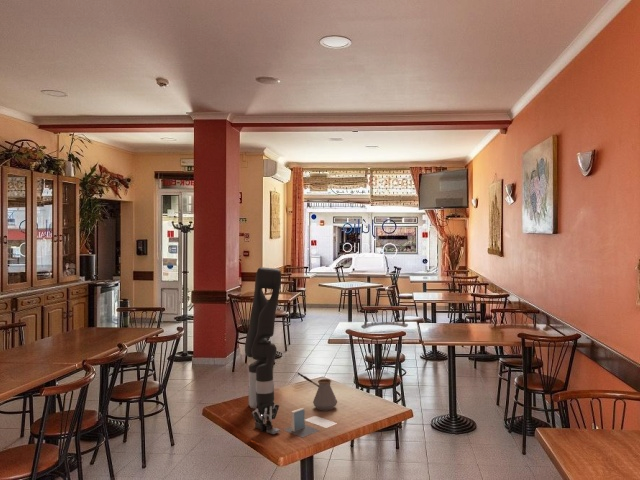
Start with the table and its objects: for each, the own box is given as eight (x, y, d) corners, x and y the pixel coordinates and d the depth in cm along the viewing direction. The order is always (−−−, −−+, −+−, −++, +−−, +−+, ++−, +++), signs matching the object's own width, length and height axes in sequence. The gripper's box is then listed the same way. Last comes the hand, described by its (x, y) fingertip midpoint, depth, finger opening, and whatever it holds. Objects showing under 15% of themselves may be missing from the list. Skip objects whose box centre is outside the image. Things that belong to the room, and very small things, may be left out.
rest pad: (303, 421, 228) (303, 420, 228) (315, 417, 233) (315, 415, 233) (326, 429, 218) (326, 428, 218) (337, 424, 223) (337, 423, 223)
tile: (291, 430, 216) (291, 411, 216) (302, 426, 220) (301, 407, 220) (294, 431, 215) (294, 412, 215) (305, 427, 219) (304, 408, 219)
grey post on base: (253, 429, 220) (253, 422, 220) (261, 427, 223) (260, 420, 223) (272, 436, 211) (272, 429, 211) (280, 434, 213) (280, 426, 213)
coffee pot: (341, 406, 247) (340, 374, 246) (329, 413, 237) (328, 381, 236) (304, 399, 258) (303, 369, 257) (291, 406, 248) (290, 375, 248)
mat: (283, 431, 217) (283, 429, 217) (300, 424, 224) (300, 423, 224) (302, 439, 208) (302, 437, 208) (320, 431, 215) (320, 430, 215)
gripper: (272, 384, 224) (273, 424, 225) (246, 392, 215) (247, 433, 215) (283, 388, 219) (284, 428, 219) (257, 396, 209) (258, 438, 209)
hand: (266, 431), depth 217 cm, fingers closed on grey post on base, 2 cm apart
